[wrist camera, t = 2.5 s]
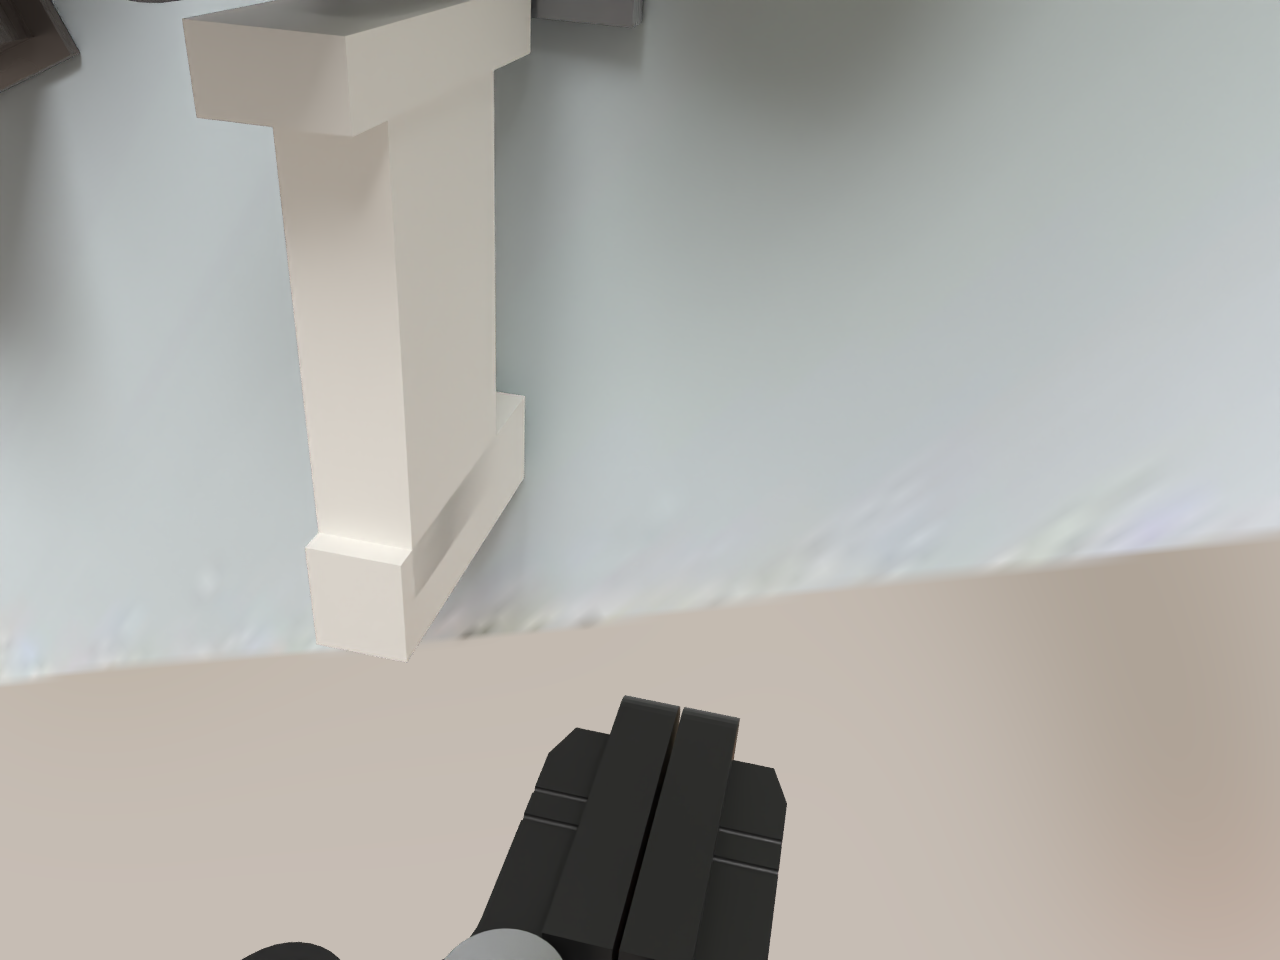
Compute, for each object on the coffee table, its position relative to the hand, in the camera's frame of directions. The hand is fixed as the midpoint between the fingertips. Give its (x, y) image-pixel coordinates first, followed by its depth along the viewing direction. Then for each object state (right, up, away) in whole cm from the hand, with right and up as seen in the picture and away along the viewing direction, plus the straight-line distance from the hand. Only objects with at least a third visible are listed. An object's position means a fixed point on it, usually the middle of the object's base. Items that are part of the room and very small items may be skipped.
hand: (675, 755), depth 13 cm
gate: (-4, +8, +9) cm, 13 cm away
